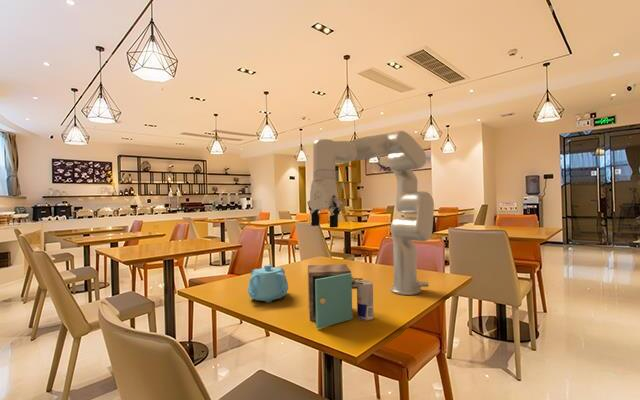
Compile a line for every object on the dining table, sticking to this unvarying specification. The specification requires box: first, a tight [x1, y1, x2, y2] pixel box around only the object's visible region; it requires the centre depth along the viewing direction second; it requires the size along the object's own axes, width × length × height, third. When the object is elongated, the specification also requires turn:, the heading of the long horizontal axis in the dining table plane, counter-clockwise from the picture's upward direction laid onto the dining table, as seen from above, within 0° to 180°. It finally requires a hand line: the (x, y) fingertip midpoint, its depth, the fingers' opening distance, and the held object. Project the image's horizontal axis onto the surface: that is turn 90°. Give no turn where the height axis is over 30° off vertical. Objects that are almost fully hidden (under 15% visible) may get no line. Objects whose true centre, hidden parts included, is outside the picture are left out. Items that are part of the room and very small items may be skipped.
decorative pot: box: [247, 264, 289, 303], centre depth 135 cm, size 16×16×14 cm
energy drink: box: [356, 280, 374, 322], centre depth 110 cm, size 5×5×12 cm
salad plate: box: [352, 276, 364, 289], centre depth 154 cm, size 19×18×5 cm
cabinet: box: [307, 263, 352, 322], centre depth 115 cm, size 14×12×16 cm
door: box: [315, 272, 353, 330], centre depth 105 cm, size 14×2×15 cm, turn 124°
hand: (324, 226), depth 112 cm, fingers open, 9 cm apart
